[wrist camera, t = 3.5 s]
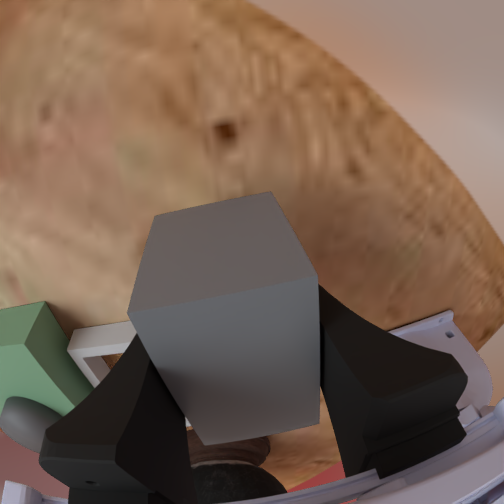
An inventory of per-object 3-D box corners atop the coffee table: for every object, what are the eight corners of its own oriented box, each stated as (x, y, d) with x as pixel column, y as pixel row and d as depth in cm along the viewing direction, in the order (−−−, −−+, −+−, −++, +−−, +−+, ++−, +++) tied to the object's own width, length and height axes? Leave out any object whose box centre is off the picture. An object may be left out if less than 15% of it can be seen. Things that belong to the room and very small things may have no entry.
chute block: (271, 191, 12) (317, 275, 7) (288, 328, 15) (319, 423, 11) (154, 215, 12) (127, 313, 7) (199, 345, 15) (204, 445, 11)
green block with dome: (186, 273, 18) (183, 351, 13) (237, 415, 26) (246, 473, 21) (-38, 316, 17) (-69, 369, 12) (55, 427, 26) (46, 474, 20)
